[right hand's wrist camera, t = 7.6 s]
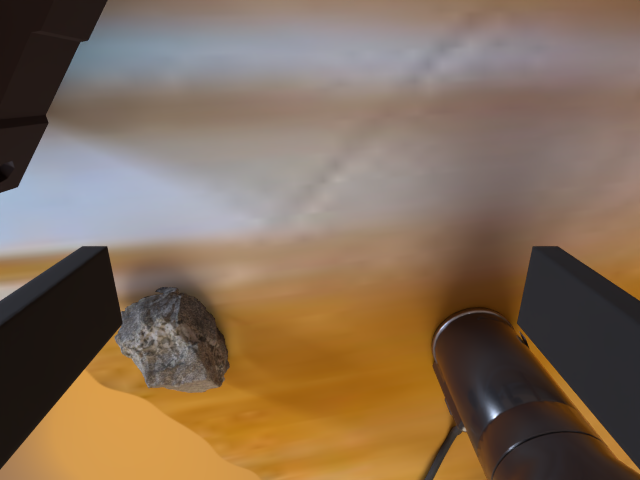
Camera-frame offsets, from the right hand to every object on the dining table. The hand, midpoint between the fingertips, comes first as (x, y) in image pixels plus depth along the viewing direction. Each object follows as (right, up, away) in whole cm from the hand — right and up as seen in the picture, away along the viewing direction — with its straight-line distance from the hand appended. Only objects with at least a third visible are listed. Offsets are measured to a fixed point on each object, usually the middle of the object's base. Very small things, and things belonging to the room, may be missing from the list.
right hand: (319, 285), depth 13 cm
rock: (-15, -9, +33) cm, 38 cm away
